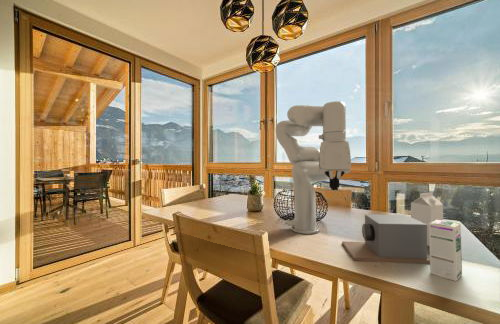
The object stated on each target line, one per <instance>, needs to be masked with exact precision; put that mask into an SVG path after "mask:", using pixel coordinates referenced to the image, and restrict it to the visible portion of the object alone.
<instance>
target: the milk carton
mask: <svg viewBox="0 0 500 324" xmlns="http://www.w3.org/2000/svg"><path fill="white" fill-rule="evenodd" d="M410 217H411V218H414V219H416V220H418V221H420V222H422V223H425V224H427V247H430V246H429V223H431V222H433V221H435V220H444V204H443V203H442V202H441V201H440V200H439V199H438V198H437V197H435V196H434V192H424V193H420V194H419V197H418V198H416V199H414V200H413V201H411V202H410Z"/></svg>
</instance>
